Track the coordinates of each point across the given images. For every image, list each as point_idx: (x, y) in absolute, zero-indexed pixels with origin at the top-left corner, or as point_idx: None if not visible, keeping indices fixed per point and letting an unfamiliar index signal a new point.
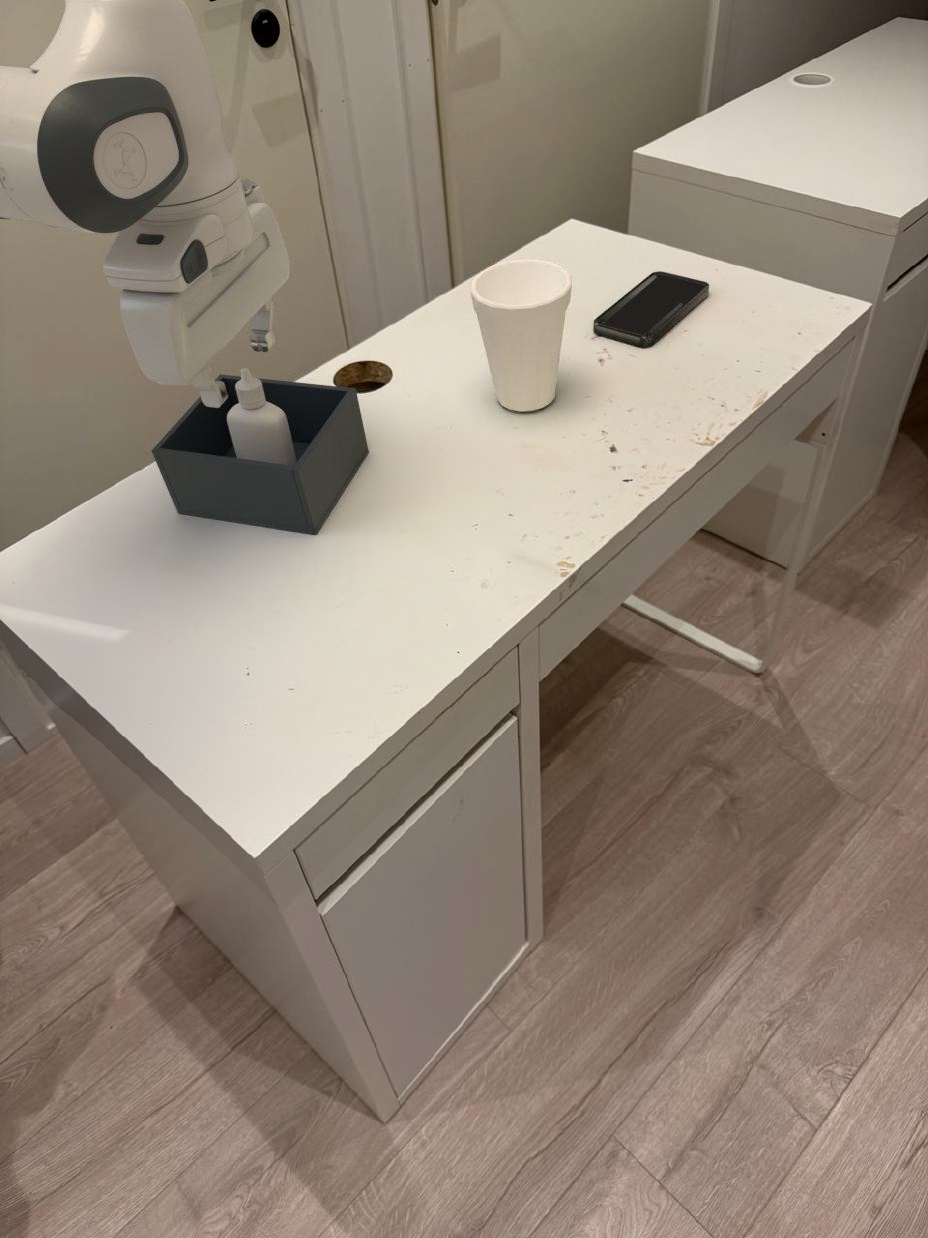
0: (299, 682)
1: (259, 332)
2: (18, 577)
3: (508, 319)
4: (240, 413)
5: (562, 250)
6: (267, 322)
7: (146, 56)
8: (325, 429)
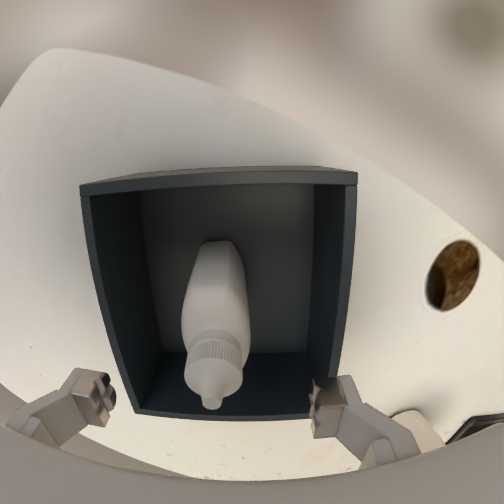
0: (46, 378)
1: (328, 425)
2: (24, 78)
3: None
4: (186, 333)
5: None
6: (348, 446)
7: None
8: (222, 420)
